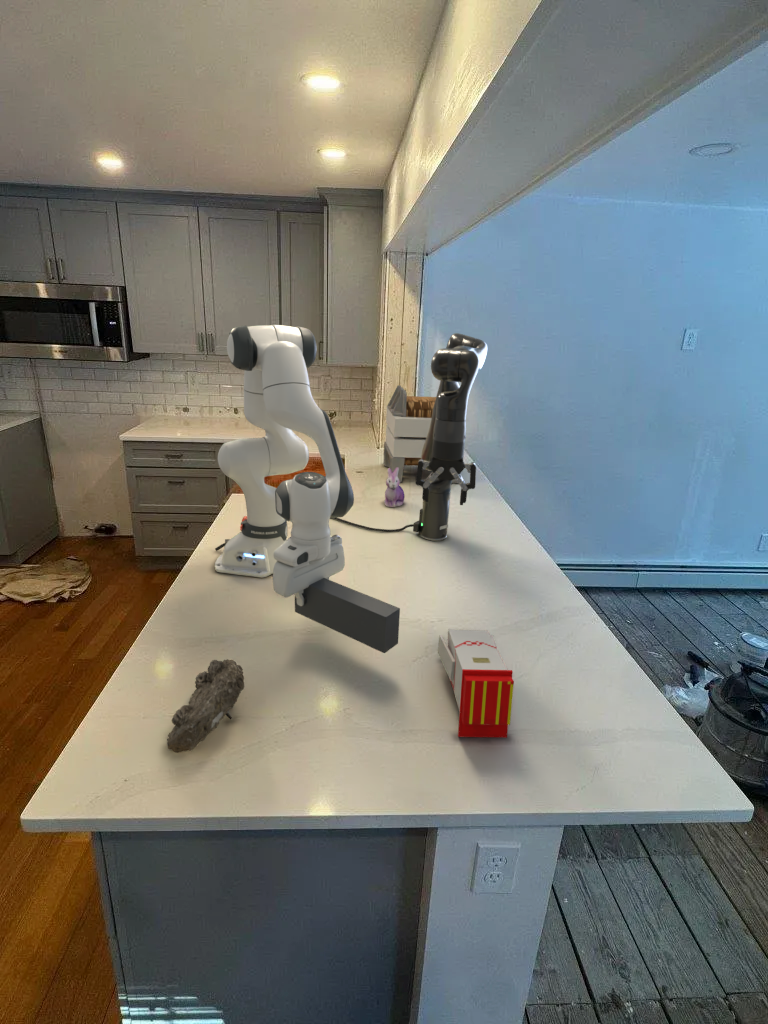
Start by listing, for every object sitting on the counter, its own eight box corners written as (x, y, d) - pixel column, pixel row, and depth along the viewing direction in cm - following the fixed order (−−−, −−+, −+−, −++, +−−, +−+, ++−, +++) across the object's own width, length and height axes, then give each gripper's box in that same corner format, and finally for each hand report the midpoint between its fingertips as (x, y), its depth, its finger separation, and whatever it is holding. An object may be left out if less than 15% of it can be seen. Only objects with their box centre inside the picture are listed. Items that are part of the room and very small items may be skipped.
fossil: (192, 660, 117) (244, 628, 112) (224, 691, 120) (276, 661, 115) (142, 746, 98) (202, 712, 93) (182, 779, 101) (242, 748, 96)
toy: (488, 613, 130) (523, 677, 101) (484, 667, 133) (517, 744, 104) (435, 612, 130) (455, 676, 101) (432, 666, 133) (451, 743, 103)
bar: (398, 643, 122) (400, 608, 119) (384, 653, 119) (386, 617, 116) (309, 604, 137) (309, 571, 134) (294, 611, 133) (294, 578, 130)
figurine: (389, 509, 224) (391, 472, 218) (377, 501, 232) (379, 465, 227) (410, 506, 228) (412, 470, 223) (398, 498, 236) (399, 463, 231)
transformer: (382, 463, 289) (386, 382, 275) (445, 464, 293) (451, 384, 279) (390, 482, 257) (394, 392, 243) (460, 483, 261) (468, 394, 247)
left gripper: (331, 529, 137) (331, 580, 142) (267, 554, 122) (269, 611, 126) (351, 535, 134) (350, 588, 139) (288, 562, 118) (289, 620, 123)
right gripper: (478, 436, 136) (472, 500, 141) (419, 432, 137) (415, 496, 142) (480, 443, 129) (473, 510, 134) (418, 439, 130) (413, 506, 135)
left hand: (311, 599), depth 132 cm, fingers closed on bar, 5 cm apart
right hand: (443, 503), depth 138 cm, fingers open, 8 cm apart
